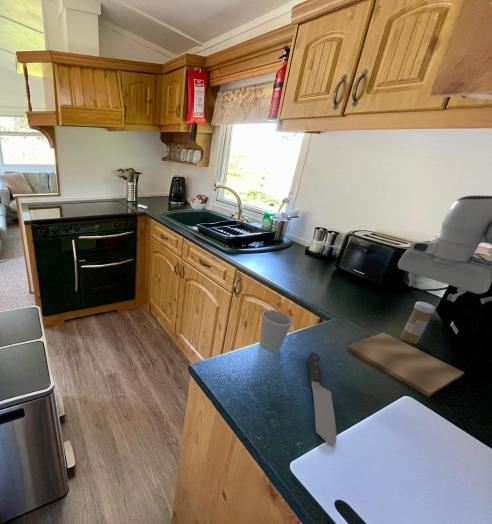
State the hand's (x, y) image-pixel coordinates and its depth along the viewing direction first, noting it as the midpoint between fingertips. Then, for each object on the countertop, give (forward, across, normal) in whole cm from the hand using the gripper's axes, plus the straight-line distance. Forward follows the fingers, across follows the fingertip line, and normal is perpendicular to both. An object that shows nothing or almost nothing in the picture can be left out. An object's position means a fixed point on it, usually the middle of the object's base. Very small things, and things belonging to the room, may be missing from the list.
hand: (430, 293), depth 89 cm
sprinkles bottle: (+18, 0, 0) cm, 18 cm away
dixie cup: (+18, +15, +48) cm, 53 cm away
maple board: (+17, -5, +16) cm, 24 cm away
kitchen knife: (+18, -4, +52) cm, 55 cm away
